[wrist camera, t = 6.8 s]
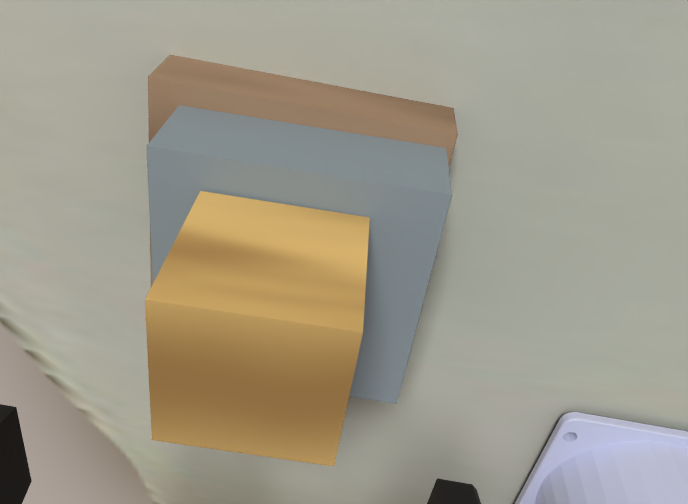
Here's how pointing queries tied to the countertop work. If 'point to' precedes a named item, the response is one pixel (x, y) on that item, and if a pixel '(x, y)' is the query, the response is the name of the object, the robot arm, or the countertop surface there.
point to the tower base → (293, 103)
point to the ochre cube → (257, 328)
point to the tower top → (318, 193)
